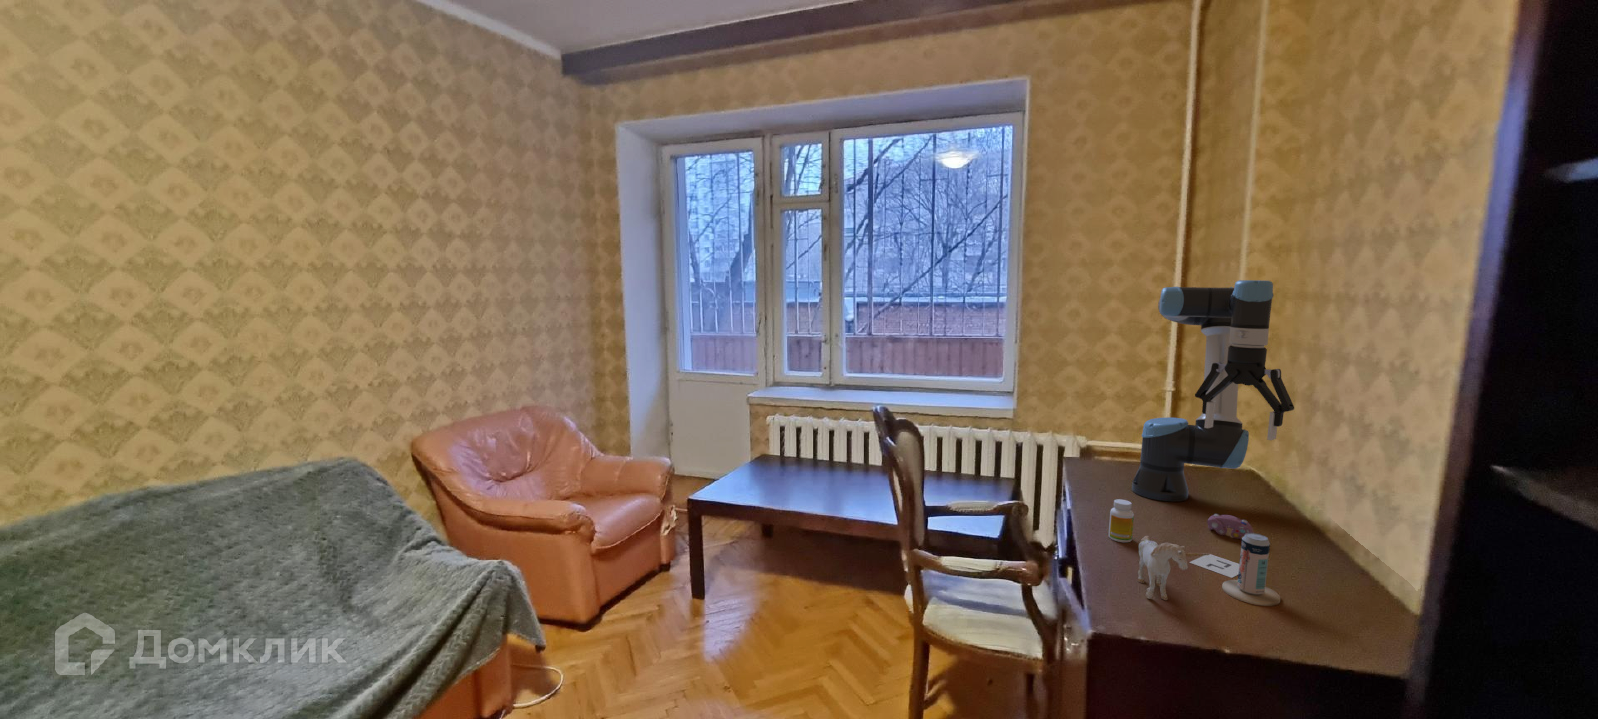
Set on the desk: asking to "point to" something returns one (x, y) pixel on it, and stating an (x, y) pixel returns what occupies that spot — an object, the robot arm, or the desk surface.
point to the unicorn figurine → (1160, 563)
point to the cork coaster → (1263, 599)
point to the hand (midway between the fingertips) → (1238, 433)
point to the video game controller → (1229, 525)
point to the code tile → (1217, 565)
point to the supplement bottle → (1121, 521)
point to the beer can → (1253, 563)
